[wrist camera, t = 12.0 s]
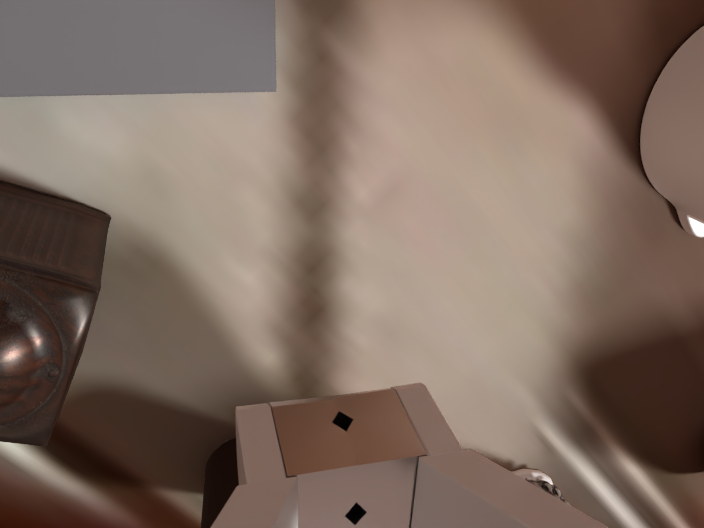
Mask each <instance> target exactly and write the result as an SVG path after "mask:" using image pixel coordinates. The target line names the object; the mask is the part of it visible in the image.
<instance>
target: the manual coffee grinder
mask: <svg viewBox="0 0 704 528" xmlns="http://www.w3.org/2000/svg"><path fill="white" fill-rule="evenodd" d="M110 220H111V216H109V215H107V214H104V213H102V212H99V211H96V210H94V209H91V208H89V207H86V206H83V205H81V204H78V203H75V202H72V201H69V200H65V199H62V198H59V197H55V196H52V195H48V194H45V193H42V192H38V191H35V190H32V189H28V188H25V187H22V186H18V185H15V184H12V183H8V182H5V181H1V180H0V441H2V442H11V443H20V444H29V445H38V446H47V444H48V441H49V439H50V436H51V434H52V432H53V429H54V427H55V424H56V422H57V419H58V417H59V414H60V412H61V409H62V406H63V403H64V401H65V398H66V395H67V392H68V390H69V387H70V384H71V381H72V379H73V376H74V373H75V371H76V368H77V365H78V363H79V360H80V357H81V354H82V352H83V348H84V345H85V341H86V338H87V334H88V331H89V327H90V324H91V320H92V316H93V313H94V309H95V306H96V302H97V299H98V295H99V292H100V288H101V275H102V268H103V261H104V254H105V246H106V239H107V233H108V227H109V223H110Z"/></svg>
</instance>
